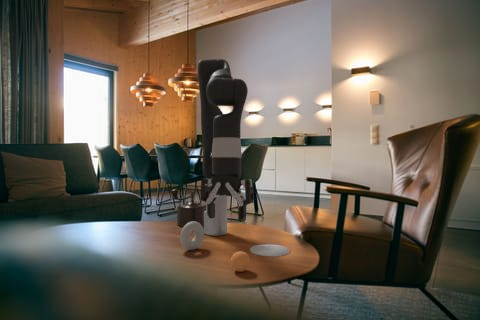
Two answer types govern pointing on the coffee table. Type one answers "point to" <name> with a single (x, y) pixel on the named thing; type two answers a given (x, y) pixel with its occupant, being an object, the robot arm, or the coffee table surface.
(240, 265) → the ball
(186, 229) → the donut
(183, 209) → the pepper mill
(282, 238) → the coffee table surface
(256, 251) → the disc
